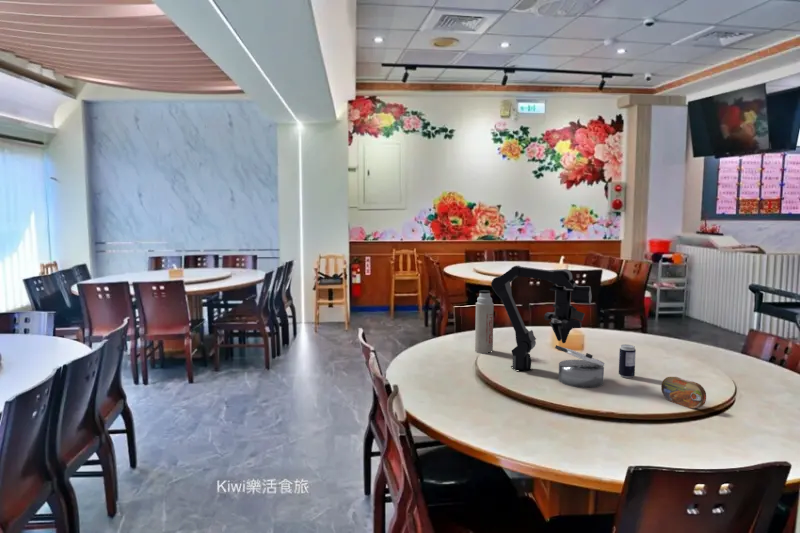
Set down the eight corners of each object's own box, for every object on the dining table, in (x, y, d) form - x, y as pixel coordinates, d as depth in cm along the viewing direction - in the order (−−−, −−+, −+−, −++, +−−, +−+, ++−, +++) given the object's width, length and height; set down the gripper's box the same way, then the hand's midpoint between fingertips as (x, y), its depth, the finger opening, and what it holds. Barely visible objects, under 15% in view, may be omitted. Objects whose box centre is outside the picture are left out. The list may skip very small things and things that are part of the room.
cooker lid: (567, 355, 192) (569, 349, 192) (546, 344, 208) (548, 338, 208) (612, 370, 196) (614, 364, 196) (588, 358, 212) (590, 353, 212)
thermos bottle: (496, 352, 246) (497, 291, 243) (481, 354, 242) (482, 292, 239) (485, 348, 253) (486, 288, 250) (471, 350, 249) (472, 290, 246)
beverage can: (634, 375, 211) (636, 345, 209) (634, 379, 205) (635, 348, 204) (619, 373, 213) (620, 343, 212) (618, 377, 208) (619, 346, 207)
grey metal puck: (571, 389, 194) (572, 372, 193) (550, 376, 210) (551, 360, 209) (612, 386, 197) (612, 370, 196) (588, 373, 213) (589, 358, 212)
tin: (660, 397, 185) (661, 373, 184) (666, 396, 186) (667, 372, 186) (700, 412, 172) (702, 386, 171) (707, 410, 173) (708, 385, 172)
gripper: (594, 305, 201) (593, 346, 203) (569, 297, 219) (568, 335, 221) (567, 306, 199) (566, 348, 201) (544, 298, 217) (543, 337, 219)
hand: (561, 341), depth 210 cm, fingers open, 3 cm apart
